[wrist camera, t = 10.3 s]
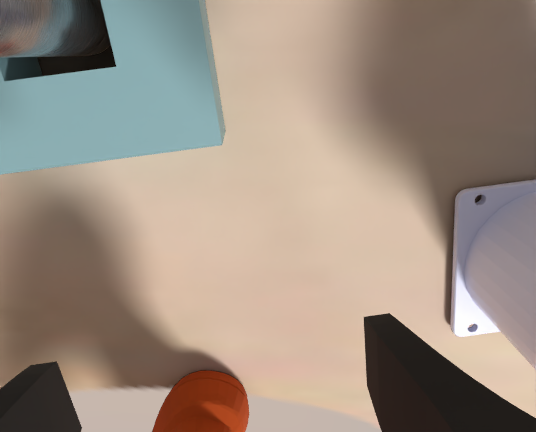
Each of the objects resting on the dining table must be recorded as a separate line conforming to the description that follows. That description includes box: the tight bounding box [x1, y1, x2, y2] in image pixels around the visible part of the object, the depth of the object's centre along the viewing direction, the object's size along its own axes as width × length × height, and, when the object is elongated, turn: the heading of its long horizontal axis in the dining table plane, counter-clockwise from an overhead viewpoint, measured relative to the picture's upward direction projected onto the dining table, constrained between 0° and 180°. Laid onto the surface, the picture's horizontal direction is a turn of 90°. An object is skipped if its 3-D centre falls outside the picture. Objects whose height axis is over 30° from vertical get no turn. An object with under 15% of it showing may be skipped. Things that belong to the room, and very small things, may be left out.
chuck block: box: [0, 0, 225, 174], centre depth 15 cm, size 10×10×3 cm
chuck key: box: [0, 0, 111, 58], centre depth 12 cm, size 3×3×10 cm
